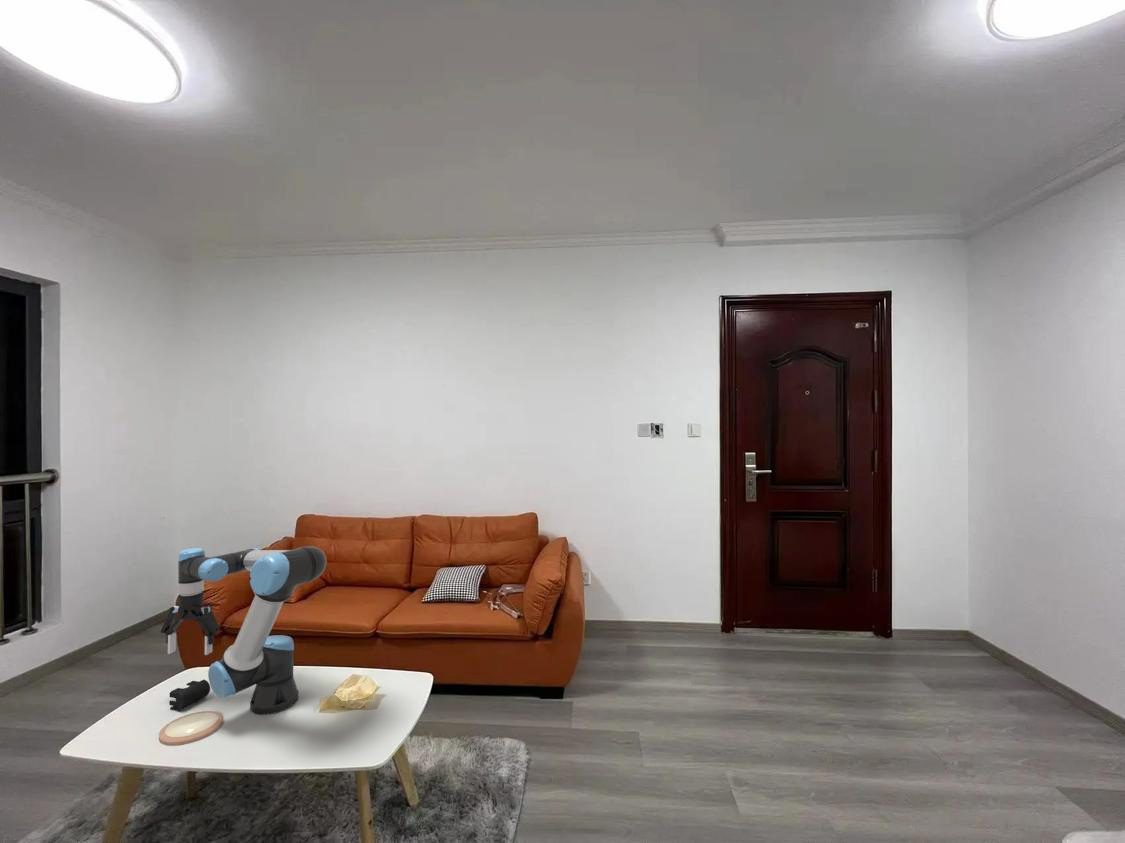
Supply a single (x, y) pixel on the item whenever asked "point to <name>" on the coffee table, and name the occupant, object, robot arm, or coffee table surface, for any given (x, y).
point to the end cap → (189, 694)
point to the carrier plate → (191, 728)
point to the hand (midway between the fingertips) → (190, 653)
